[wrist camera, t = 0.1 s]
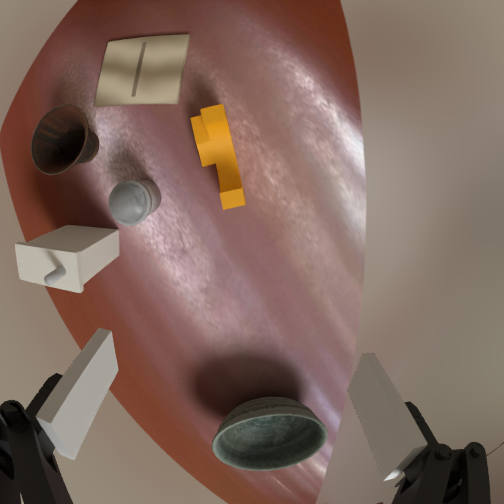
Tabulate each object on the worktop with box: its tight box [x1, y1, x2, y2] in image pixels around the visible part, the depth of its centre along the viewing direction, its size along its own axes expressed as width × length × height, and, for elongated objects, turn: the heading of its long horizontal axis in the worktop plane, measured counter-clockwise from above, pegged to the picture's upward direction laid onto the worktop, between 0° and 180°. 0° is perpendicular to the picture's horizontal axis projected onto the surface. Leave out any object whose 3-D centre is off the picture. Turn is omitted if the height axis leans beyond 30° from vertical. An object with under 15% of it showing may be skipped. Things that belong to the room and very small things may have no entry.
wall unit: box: [15, 225, 119, 293], centre depth 31 cm, size 5×11×16 cm, turn 83°
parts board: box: [94, 34, 190, 107], centre depth 31 cm, size 11×13×1 cm
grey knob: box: [109, 180, 161, 226], centre depth 34 cm, size 6×6×6 cm
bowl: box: [212, 397, 328, 471], centre depth 45 cm, size 21×21×10 cm
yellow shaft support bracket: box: [191, 104, 246, 210], centre depth 33 cm, size 12×4×6 cm, turn 12°
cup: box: [31, 104, 99, 175], centre depth 29 cm, size 9×9×10 cm
